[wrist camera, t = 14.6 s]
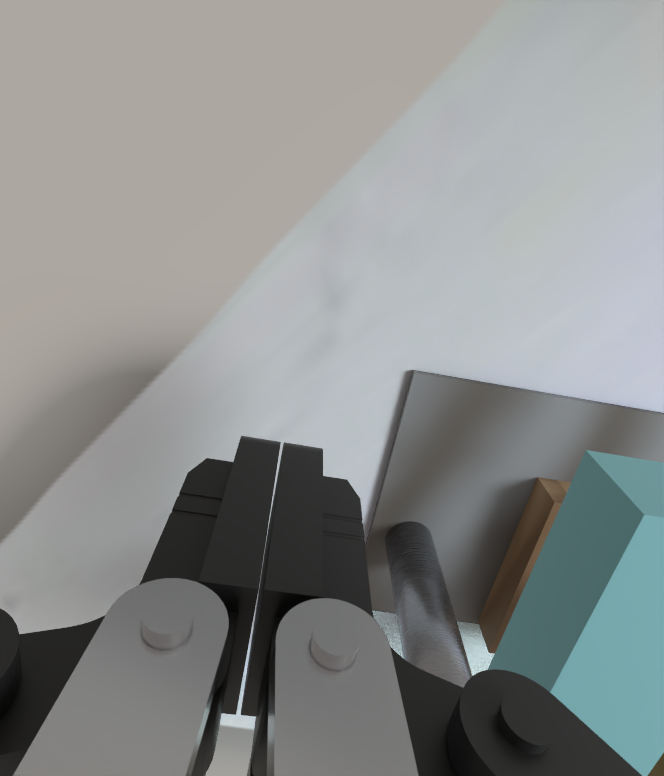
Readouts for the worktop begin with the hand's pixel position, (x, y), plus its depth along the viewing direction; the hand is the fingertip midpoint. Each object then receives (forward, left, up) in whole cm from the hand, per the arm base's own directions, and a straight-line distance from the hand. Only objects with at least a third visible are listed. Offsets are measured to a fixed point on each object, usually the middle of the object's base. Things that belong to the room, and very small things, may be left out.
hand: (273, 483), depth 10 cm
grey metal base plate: (-14, +9, -13) cm, 21 cm away
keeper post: (-7, +11, -13) cm, 19 cm away
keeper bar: (-7, +6, -1) cm, 9 cm away
